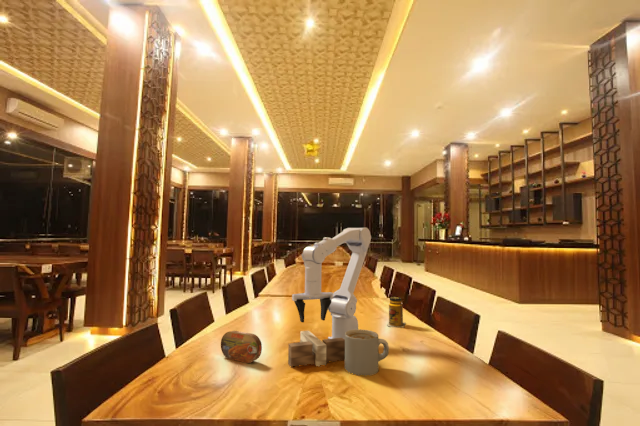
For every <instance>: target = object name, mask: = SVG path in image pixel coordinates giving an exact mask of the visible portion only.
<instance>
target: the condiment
mask: <svg viewBox="0 0 640 426" xmlns="http://www.w3.org/2000/svg"><path fill="white" fill-rule="evenodd" d="M403 308H404V305H403V301H402V298H401V297H397V296H392V297H389V304H388V323H387V324H386V326H387V327H392V328H405V325H406V322H405V321H404V315H403V314H404V311H403V310H404V309H403Z"/></svg>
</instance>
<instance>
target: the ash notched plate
mask: <svg viewBox="0 0 640 426" xmlns="http://www.w3.org/2000/svg"><path fill="white" fill-rule="evenodd" d="M299 332H300V337H299V338H300V340H299V342H307V341H310V342H311V343H312V344H313V349H312V352H314V353H315V354H316V359H315V364H314V365H315V366H316V367H317V366H318V367H321V366H320V365H325V366H327V362H326V344H325V343H323V342H322V340H321V339H320V338H318V336H316V335H315V334H314V333H312V332H311V331H310V330H301V331H299Z"/></svg>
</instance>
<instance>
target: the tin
mask: <svg viewBox="0 0 640 426" xmlns="http://www.w3.org/2000/svg"><path fill="white" fill-rule="evenodd" d="M262 345H263V344H262V341H261V339H260V338H259V336H258V335H257V334H255V333H250V332H245V331H239V330H238V331H237V330H232V331H227V332H225V333H224V334H223V335H222V337H221V340H220V349H221V353H222V354H223V356H224V357H225V358H226V359H228V360H231V361H235V362H241V363H245V364H251V363H253V362H255V361H257V360H258V359H259V358H260V357H261V355H262V350H263V349H262V348H263V347H262Z"/></svg>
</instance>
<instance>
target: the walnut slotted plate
mask: <svg viewBox="0 0 640 426" xmlns="http://www.w3.org/2000/svg"><path fill="white" fill-rule="evenodd" d="M321 341H322V342H323V343H325V344H326V363H330V362H329V361H332V362H338V361H337V360H339V361H345V340H344V339H343V338H333V339H328V338H326V339H322V340H321ZM312 349H313V344H312V343H311V342H310V341H307V342H300V341H299V342H293V343H292V342H291V343H288V354H287V355H288V358H287V359H288V361H287V363H288V365H289V367H290V366H291V367H290V368H293V367H292V366H298V367H300V366H299V365H304V366H308V365H307V364H311V365H315V359H316V354H315V353H314V352H312Z"/></svg>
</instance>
